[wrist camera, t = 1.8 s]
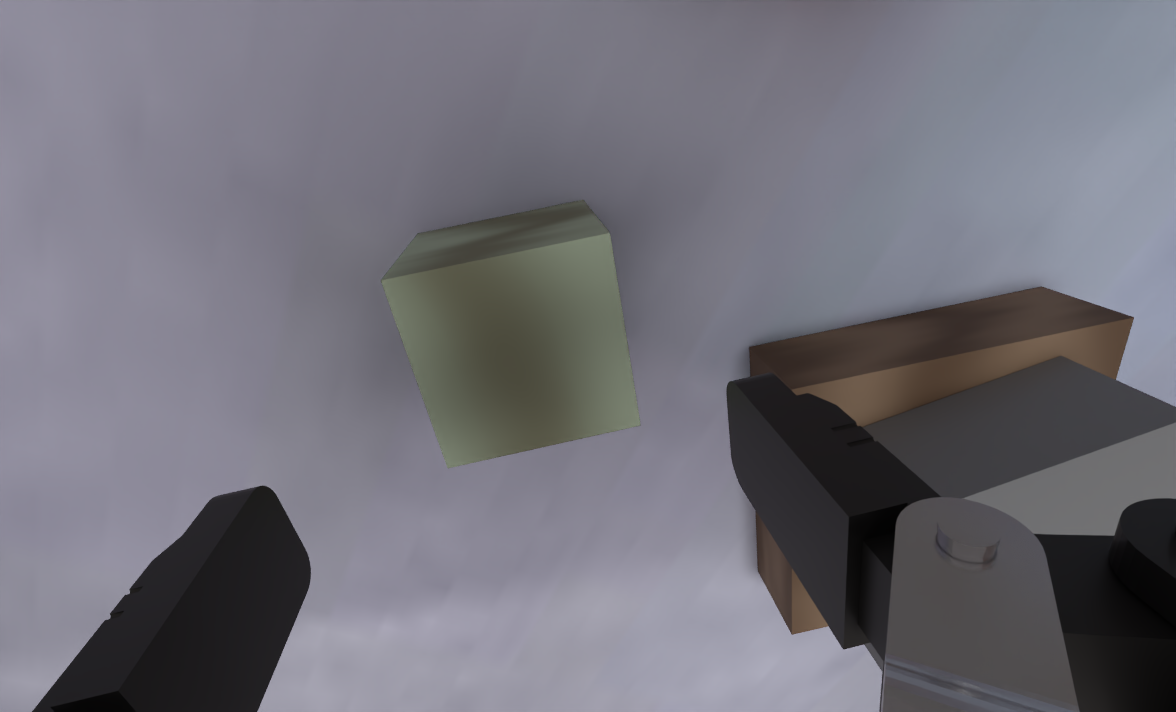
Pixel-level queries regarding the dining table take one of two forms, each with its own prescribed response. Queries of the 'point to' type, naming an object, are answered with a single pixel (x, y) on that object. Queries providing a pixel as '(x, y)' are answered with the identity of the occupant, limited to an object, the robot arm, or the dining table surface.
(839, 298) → the dining table surface
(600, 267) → the green cube
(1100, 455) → the top slab
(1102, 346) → the bottom slab
